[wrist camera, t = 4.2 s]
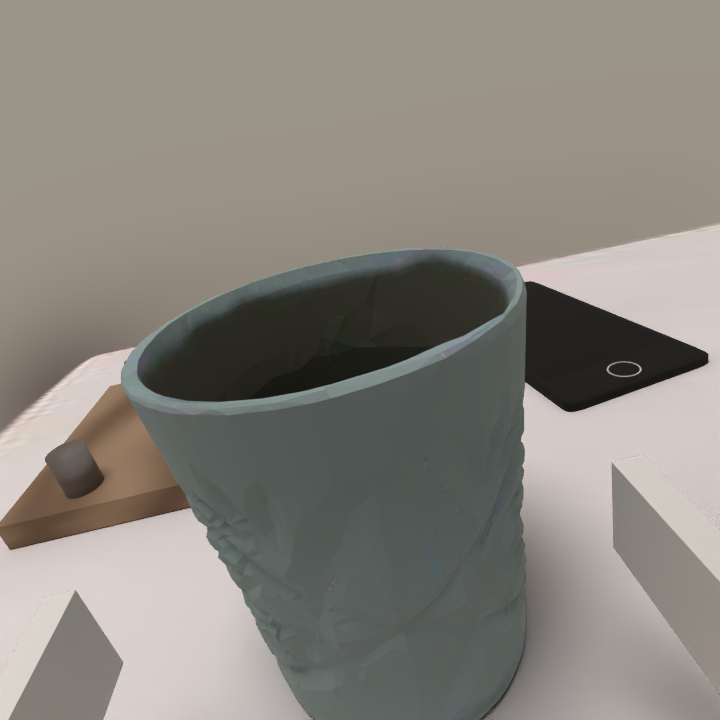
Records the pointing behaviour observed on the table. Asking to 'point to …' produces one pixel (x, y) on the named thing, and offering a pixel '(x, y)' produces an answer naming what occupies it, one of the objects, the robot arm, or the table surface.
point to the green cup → (359, 471)
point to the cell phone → (594, 351)
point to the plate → (119, 490)
